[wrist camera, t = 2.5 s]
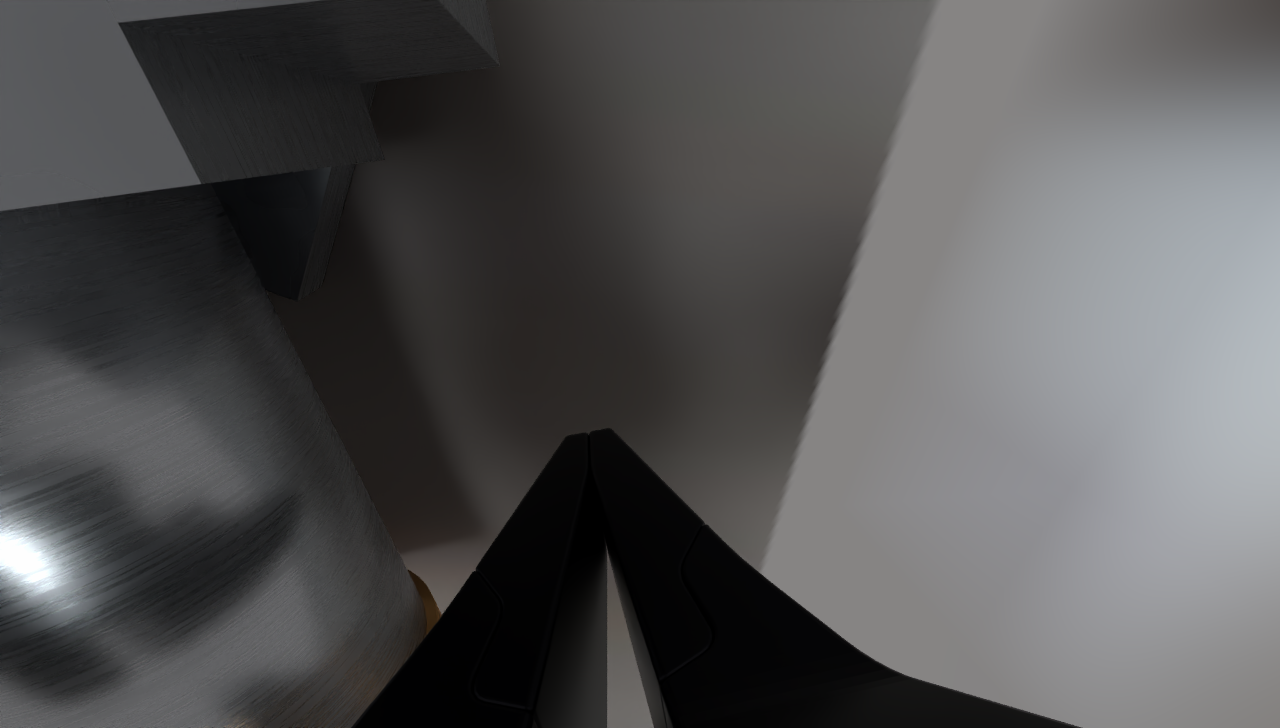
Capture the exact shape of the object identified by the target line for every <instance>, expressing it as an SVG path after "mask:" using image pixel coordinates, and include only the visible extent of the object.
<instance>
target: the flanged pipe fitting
mask: <svg viewBox="0 0 1280 728" xmlns="http://www.w3.org/2000/svg"><path fill="white" fill-rule="evenodd" d="M498 66H500V64H499V59H498V55H497V50H496V45H495V41H494V36H493V32H492V27H491V23H490V18H489V13H488V9H487V4H486V0H0V728H351V727H352V725H353V724H354V723H355V722H356V721H357V719H358V718H359V717H360V716H361V715H362V713H363V712H364V711H365V710H366V709H367V707H368V706H369V705H370V704H371V702H372V701H373V700H374V699H375V698H376V696H377V695H378V694H379V693H380V692H381V690H382V689H383V688H384V687H385V686H386V684H387V683H388V682H389V681H390V680H391V678H392V677H393V676H394V675H395V674H396V672H397V671H398V670H399V669H400V668H401V666H402V665H403V664H404V663H405V662H406V660H407V659H408V658H409V657H410V655H411V654H412V653H413V652H414V650H415V649H416V648H417V647H418V645H419V644H420V643H421V642H422V640H423V639H424V638H425V636H426V635H427V634H428V633H429V631H430V630H431V629H432V628H433V626H434V625H435V624H436V623H437V621H438V620H439V619H440V617H441V616H442V614H441V612H440V610H439V608H438V606H437V604H436V602H435V600H434V598H433V596H432V594H431V592H430V590H429V589H428V587H427V585H426V584H425V583H424V582H423V581H422V580H421V579H420V577H418V576H417V575H415V574H414V573H413V572H411V571H409V570H407V569H406V567H405V565H404V563H403V561H402V559H401V557H400V555H399V553H398V551H397V549H396V547H395V545H394V543H393V541H392V539H391V537H390V535H389V533H388V531H387V529H386V527H385V525H384V523H383V521H382V519H381V517H380V515H379V513H378V512H377V510H376V508H375V506H374V504H373V502H372V500H371V498H370V496H369V494H368V492H367V490H366V488H365V486H364V484H363V482H362V480H361V478H360V476H359V474H358V472H357V470H356V468H355V466H354V464H353V462H352V460H351V458H350V456H349V455H348V453H347V451H346V449H345V447H344V445H343V443H342V441H341V439H340V437H339V435H338V433H337V431H336V429H335V427H334V425H333V423H332V421H331V419H330V417H329V415H328V413H327V411H326V409H325V407H324V405H323V403H322V401H321V399H320V397H319V396H318V394H317V392H316V390H315V388H314V386H313V384H312V382H311V380H310V378H309V376H308V374H307V372H306V370H305V368H304V366H303V364H302V362H301V360H300V358H299V356H298V354H297V352H296V350H295V348H294V346H293V344H292V342H291V340H290V339H289V337H288V335H287V333H286V331H285V329H284V327H283V325H282V323H281V321H280V319H279V317H278V315H277V313H276V311H275V309H274V307H273V305H272V303H271V301H270V299H269V297H268V295H267V293H266V291H265V289H264V287H263V285H262V283H261V282H260V280H259V278H258V276H257V274H256V272H255V270H254V268H253V266H252V264H251V262H250V260H249V258H248V256H247V254H246V252H245V250H244V248H243V246H242V244H241V242H240V240H239V238H238V236H237V234H236V232H235V230H234V228H233V226H232V224H231V223H230V221H229V219H228V217H227V215H226V213H225V211H224V209H223V207H222V205H221V203H220V201H219V199H218V197H217V195H216V193H215V191H214V189H213V187H212V185H211V183H215V182H222V181H230V180H237V179H245V178H252V177H259V176H267V175H274V174H282V173H289V172H297V171H304V170H311V169H319V168H326V167H334V166H341V165H349V164H356V163H364V162H371V161H378V160H385V159H384V156H383V153H382V150H381V147H380V144H379V142H378V139H377V136H376V133H375V130H374V127H373V124H372V121H371V118H370V115H369V112H368V109H367V106H366V103H365V100H364V97H363V95H362V92H361V89H360V86H359V83H367V82H375V81H384V80H392V79H400V78H408V77H416V76H424V75H433V74H441V73H449V72H457V71H465V70H474V69H482V68H490V67H498Z"/></svg>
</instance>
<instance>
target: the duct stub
mask: <svg viewBox="0 0 1280 728" xmlns="http://www.w3.org/2000/svg"><path fill="white" fill-rule="evenodd" d="M377 83H378V81H375V82H367V83H359V86H360V89H361V92H362V95H363V97H364V100H365V103H366V106H367V109H368V112H370V108H371V105H372V101H373V97H374V94H375V90H376V86H377ZM354 167H355V164H349V165H341V166H334V167H326V168H319V169H311V170H304V171H297V172H289V173H282V174H274V175H267V176H259V177H252V178H245V179H237V180H230V181H222V182H215V183H211V185H212V187H213V189H214V191H215V193H216V195H217V197H218V199H219V201H220V203H221V205H222V207H223V209H224V211H225V213H226V215H227V217H228V219H229V221H230V223H231V224H232V226H233V228H234V230H235V232H236V234H237V236H238V238H239V240H240V242H241V244H242V246H243V248H244V250H245V252H246V254H247V256H248V258H249V260H250V262H251V264H252V266H253V268H254V270H255V272H256V274H257V276H258V278H259V280H260V282H261V283H262V285H263V287H264V289H265V290H267V291H270V292H273V293H275V294H278V295H281V296H283V297H286V298H289V299H292V300H294V301H298V300H300V299H302V298H303V297H305V296H307V295H308V294H310V293H311V292H313V291H315V290H316V289H318V288H320V287H321V286H322V283H323V280H324V276H325V272H326V269H327V265H328V261H329V258H330V254H331V250H332V247H333V243H334V239H335V236H336V232H337V229H338V225H339V221H340V218H341V214H342V210H343V207H344V203H345V199H346V196H347V192H348V188H349V185H350V181H351V177H352V174H353V170H354Z"/></svg>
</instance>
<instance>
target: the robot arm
mask: <svg viewBox="0 0 1280 728" xmlns="http://www.w3.org/2000/svg"><path fill="white" fill-rule="evenodd" d="M606 545H607V549H606ZM607 550H608V554H609V558H610V563H611V567H612V570H613V574H614V578H615V582H616V585H617V589H618V593H619V597H620V601H621V604H622V608H623V612H624V616H625V619H626V623H627V627H628V631H629V635H630V638H631V642H632V646H633V650H634V653H635V657H636V661H637V665H638V669H639V672H640V676H641V680H642V684H643V687H644V691H645V695H646V699H647V703H648V706H649V710H650V714H651V718H652V721H653V725H654V728H1081V727H1077V726H1074V725H1071V724H1068V723H1064V722H1061V721H1057V720H1054V719H1051V718H1047V717H1044V716H1040V715H1037V714H1034V713H1030V712H1027V711H1024V710H1020V709H1017V708H1013V707H1009V706H1007V705H1003V704H1000V703H997V702H993V701H990V700H986V699H983V698H980V697H976V696H973V695H969V694H966V693H963V692H959V691H956V690H953V689H949V688H946V687H942V686H939V685H936V684H932V683H929V682H925V681H922V680H918V679H915V678H912V677H909V676H906V675H904V674H902V673H899V672H897V671H895V670H892V669H890V668H888V667H887V666H885V665H883V664H881V663H879V662H877V661H875V660H874V659H872V658H871V657H869V656H868V655H866V654H864V653H863V652H861V651H860V650H858V649H857V648H855V647H854V646H853V645H851V644H850V643H849V642H847V641H846V640H845V639H844V638H842V637H841V636H840V635H838V634H837V633H836V632H834V631H833V630H832V629H831V628H829V627H828V626H827V625H825V624H824V623H823V622H822V621H820V620H819V619H818V618H816V617H815V616H814V615H813V614H811V613H810V612H809V611H807V610H806V609H805V608H803V607H802V606H801V605H800V604H798V603H797V602H796V601H795V600H793V599H792V598H791V597H789V596H788V595H787V594H786V593H784V592H783V591H782V590H780V589H779V588H778V587H777V586H775V585H774V584H773V583H771V582H770V581H769V580H768V579H766V578H765V577H764V576H763V575H762V574H760V573H759V572H758V571H757V570H755V569H754V568H753V567H752V566H751V565H749V564H748V563H747V562H746V561H744V560H743V559H742V558H741V557H740V556H739V555H738V554H737V553H736V552H735V551H734V550H733V549H732V548H730V547H729V546H728V545H727V544H726V543H725V542H724V541H723V540H722V539H721V538H720V537H719V536H718V535H717V534H716V533H715V532H714V531H713V530H712V529H711V528H710V527H709V526H708V525H705V523H704V521H703V520H702V519H701V518H700V517H699V516H698V515H697V514H696V513H695V512H694V511H693V510H692V509H691V508H690V507H689V506H688V505H687V504H686V503H685V502H684V501H683V500H682V499H681V498H680V497H679V496H678V495H677V494H676V493H675V492H674V491H673V490H672V489H671V488H670V487H669V486H668V485H667V484H666V483H665V482H664V481H663V480H662V479H661V478H660V477H659V476H658V475H657V474H656V473H655V472H654V471H653V470H652V469H651V468H650V467H649V466H648V465H647V464H646V463H645V462H644V461H643V460H642V459H641V458H640V457H639V456H638V455H637V454H636V453H635V452H634V451H633V450H632V449H631V448H630V447H629V446H628V445H627V444H626V443H625V442H624V441H623V440H622V439H621V438H620V437H619V436H618V435H617V434H616V433H615V432H614V431H613V430H612V429H610V428H606V429H601V430H595V431H592V432H590V434H588V433H579V434H574V435H568V436H566V437H565V438H564V440H563V441H562V443H561V444H560V446H559V447H558V449H557V450H556V452H555V453H554V454H553V456H552V457H551V459H550V460H549V462H548V463H547V465H546V466H545V468H544V469H543V470H542V472H541V473H540V475H539V476H538V478H537V479H536V481H535V482H534V484H533V485H532V487H531V488H530V489H529V491H528V492H527V494H526V495H525V497H524V498H523V500H522V501H521V503H520V504H519V505H518V507H517V508H516V510H515V511H514V513H513V514H512V516H511V517H510V519H509V520H508V521H507V523H506V524H505V526H504V527H503V529H502V530H501V532H500V533H499V535H498V536H497V537H496V539H495V540H494V542H493V543H492V545H491V546H490V548H489V549H488V551H487V552H486V553H485V555H484V556H483V558H482V559H481V561H480V562H479V564H478V565H477V567H476V571H473V572H472V574H471V575H470V576H469V578H468V579H467V581H466V582H465V584H464V585H463V587H462V588H461V590H460V591H459V592H458V594H457V595H456V597H455V598H454V599H453V601H452V602H451V603H450V605H449V606H448V608H447V609H446V610H445V612H444V613H443V614H442V616H441V617H440V619H439V620H438V621H437V623H436V624H435V625H434V626H433V628H432V629H431V630H430V631H429V633H428V634H427V635H426V636H425V638H424V639H423V640H422V642H421V643H420V644H419V645H418V647H417V648H416V649H415V650H414V652H413V653H412V654H411V655H410V657H409V658H408V659H407V660H406V662H405V663H404V664H403V665H402V666H401V668H400V669H399V670H398V671H397V672H396V674H395V675H394V676H393V677H392V678H391V680H390V681H389V682H388V683H387V684H386V686H385V687H384V688H383V689H382V690H381V692H380V693H379V694H378V695H377V696H376V698H375V699H374V700H373V701H372V702H371V704H370V705H369V706H368V707H367V709H366V710H365V711H364V712H363V713H362V715H361V716H360V717H359V718H358V719H357V721H356V722H355V723H354V724H353V725H352V727H351V728H607Z"/></svg>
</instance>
